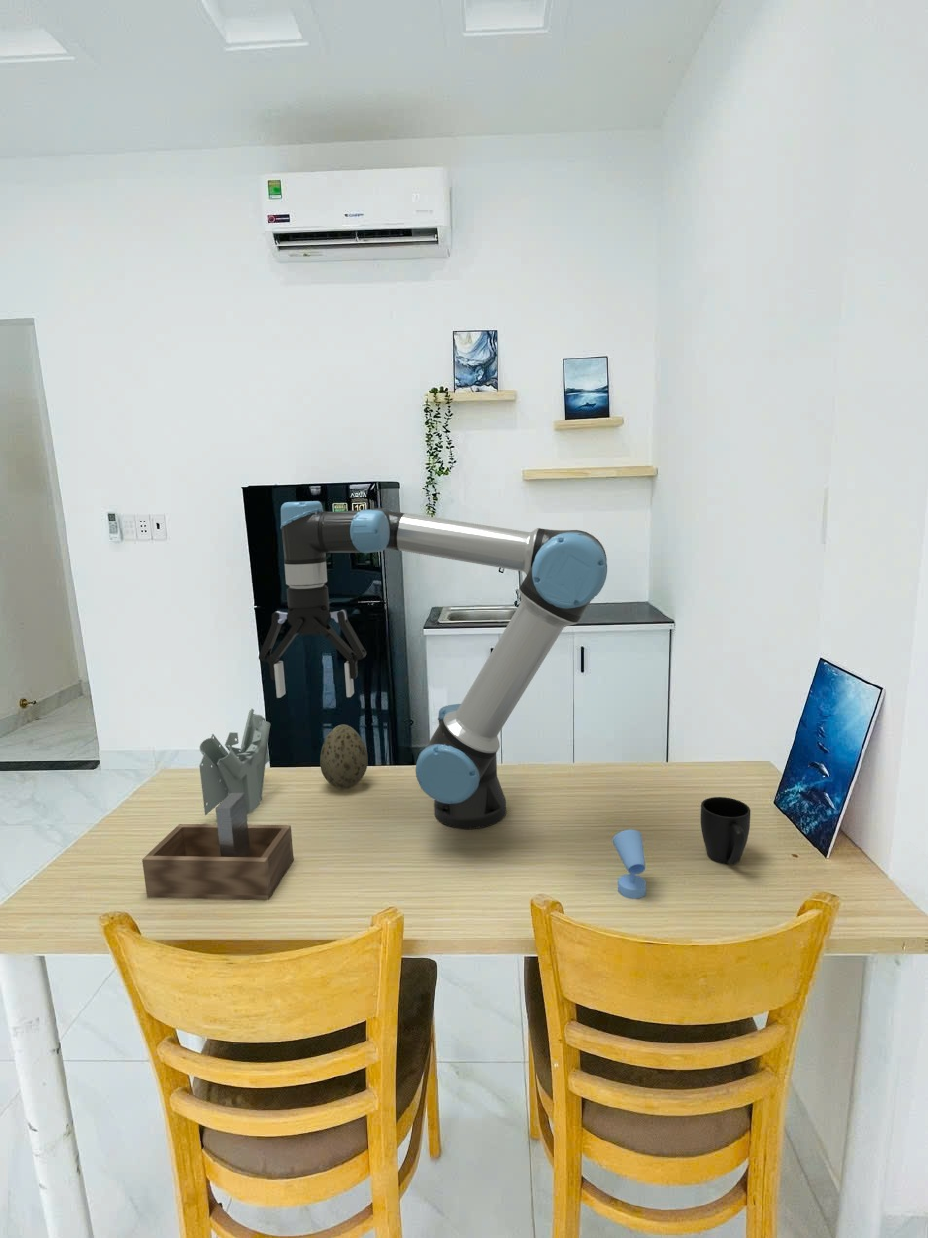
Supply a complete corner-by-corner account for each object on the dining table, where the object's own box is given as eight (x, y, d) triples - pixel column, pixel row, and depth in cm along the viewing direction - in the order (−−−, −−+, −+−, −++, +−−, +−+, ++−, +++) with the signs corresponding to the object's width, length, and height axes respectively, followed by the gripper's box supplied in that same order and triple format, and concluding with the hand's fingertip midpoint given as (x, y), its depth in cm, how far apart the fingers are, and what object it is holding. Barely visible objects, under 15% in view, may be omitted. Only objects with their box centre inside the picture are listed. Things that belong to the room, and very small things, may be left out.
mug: (711, 880, 112) (713, 828, 111) (694, 843, 124) (695, 796, 122) (762, 881, 111) (765, 829, 110) (740, 844, 123) (742, 796, 121)
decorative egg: (370, 793, 150) (366, 730, 148) (322, 799, 148) (317, 735, 145) (367, 774, 161) (363, 715, 158) (322, 780, 158) (317, 719, 156)
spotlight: (610, 878, 114) (622, 902, 107) (611, 824, 112) (622, 845, 105) (639, 876, 114) (652, 900, 107) (639, 822, 112) (653, 843, 106)
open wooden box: (293, 859, 123) (290, 825, 122) (268, 899, 111) (264, 861, 110) (183, 858, 125) (179, 823, 124) (147, 897, 113) (142, 859, 112)
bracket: (225, 840, 132) (214, 744, 128) (192, 838, 133) (181, 743, 129) (285, 781, 158) (278, 701, 155) (257, 780, 159) (250, 700, 156)
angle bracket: (251, 864, 121) (244, 792, 118) (237, 883, 115) (229, 808, 112) (209, 864, 121) (201, 792, 119) (193, 882, 116) (184, 807, 113)
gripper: (377, 581, 126) (383, 689, 130) (250, 584, 128) (260, 690, 132) (368, 586, 119) (375, 700, 123) (233, 589, 121) (244, 701, 125)
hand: (315, 695), depth 127 cm, fingers open, 13 cm apart
